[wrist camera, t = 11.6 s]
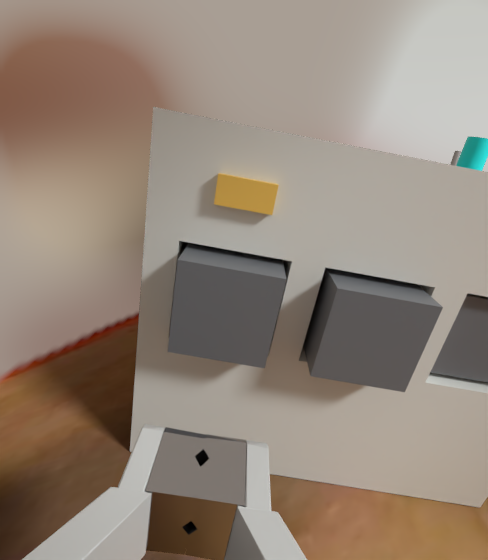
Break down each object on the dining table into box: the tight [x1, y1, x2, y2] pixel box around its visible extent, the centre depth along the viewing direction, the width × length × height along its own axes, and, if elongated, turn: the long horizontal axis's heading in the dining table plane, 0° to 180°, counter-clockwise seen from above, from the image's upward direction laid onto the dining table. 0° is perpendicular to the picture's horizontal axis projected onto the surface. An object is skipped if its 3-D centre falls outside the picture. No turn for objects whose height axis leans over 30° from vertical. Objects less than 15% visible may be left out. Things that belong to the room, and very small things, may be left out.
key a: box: [168, 243, 286, 368], centre depth 16 cm, size 4×4×4 cm
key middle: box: [303, 267, 443, 392], centre depth 16 cm, size 4×4×4 cm
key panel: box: [130, 107, 488, 507], centre depth 21 cm, size 21×9×18 cm, turn 88°
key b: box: [431, 293, 488, 382], centre depth 18 cm, size 4×4×4 cm
